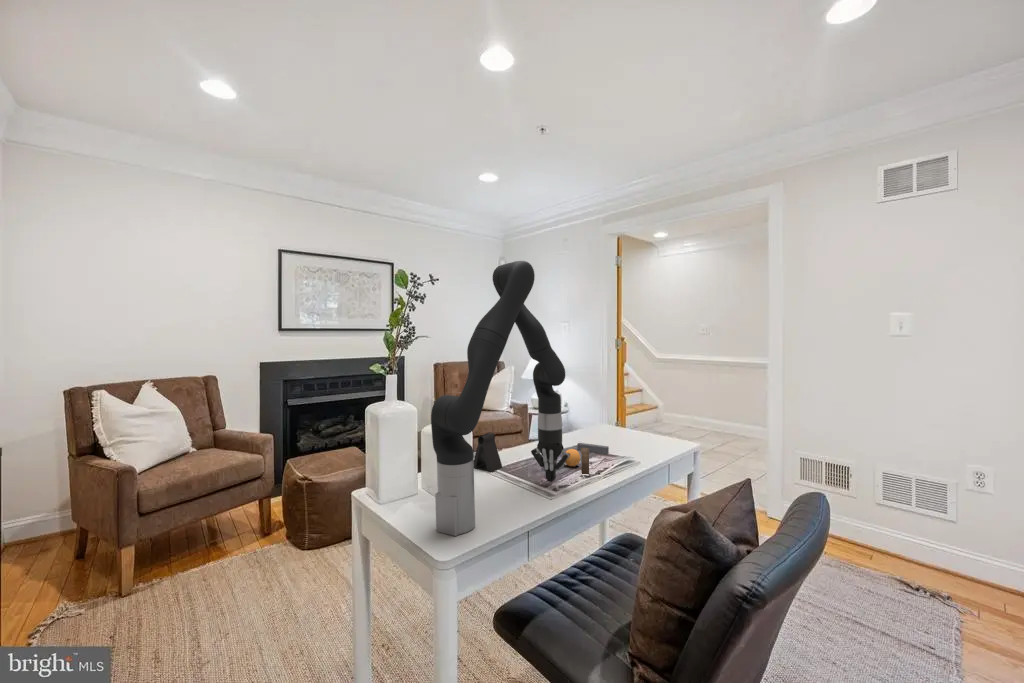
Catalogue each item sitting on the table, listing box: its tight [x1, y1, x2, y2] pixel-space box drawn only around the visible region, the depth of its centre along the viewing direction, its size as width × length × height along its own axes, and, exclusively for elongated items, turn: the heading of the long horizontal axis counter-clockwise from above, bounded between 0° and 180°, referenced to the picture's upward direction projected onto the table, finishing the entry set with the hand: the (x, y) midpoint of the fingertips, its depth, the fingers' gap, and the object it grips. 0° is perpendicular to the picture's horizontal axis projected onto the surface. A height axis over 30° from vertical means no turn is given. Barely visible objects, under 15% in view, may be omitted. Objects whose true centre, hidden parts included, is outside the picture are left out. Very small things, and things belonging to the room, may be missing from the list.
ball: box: [565, 448, 581, 467], centre depth 152 cm, size 6×6×6 cm
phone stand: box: [474, 432, 503, 473], centre depth 152 cm, size 9×6×12 cm, turn 55°
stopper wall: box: [576, 442, 609, 455], centre depth 169 cm, size 2×12×2 cm, turn 60°
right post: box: [580, 448, 590, 475], centre depth 143 cm, size 3×3×9 cm
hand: (550, 481), depth 135 cm, fingers closed
